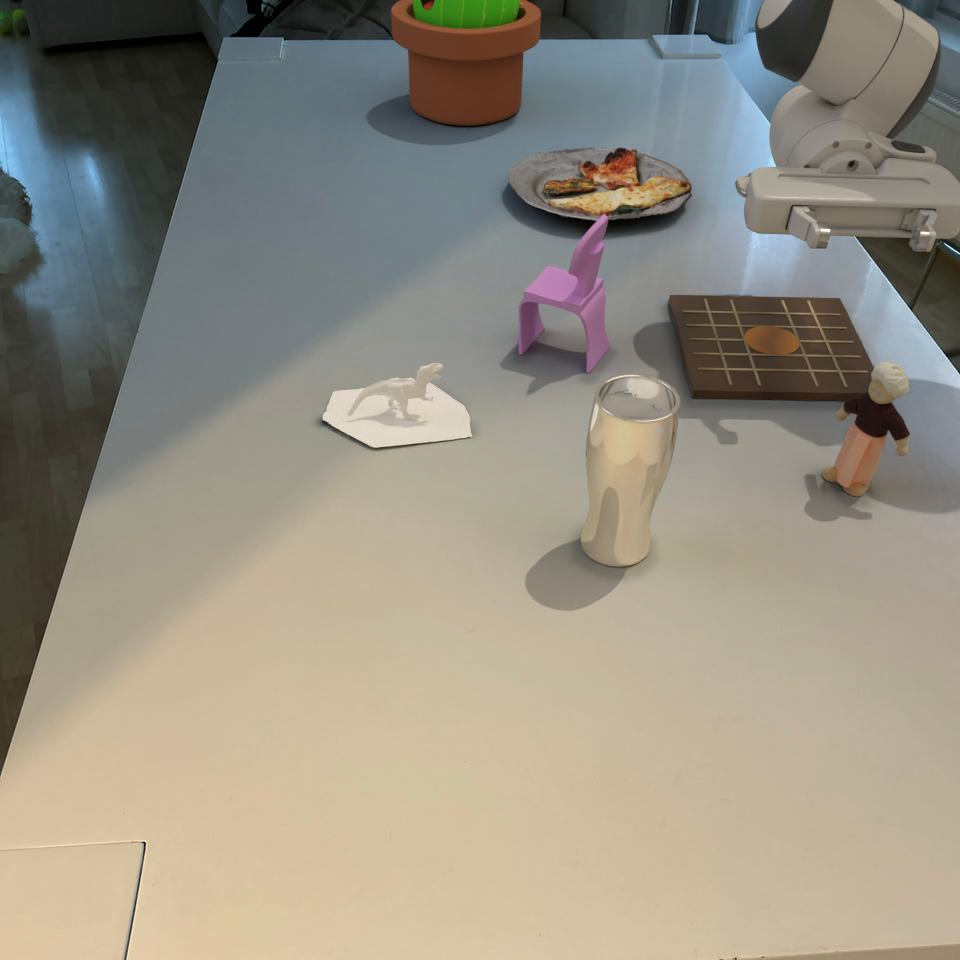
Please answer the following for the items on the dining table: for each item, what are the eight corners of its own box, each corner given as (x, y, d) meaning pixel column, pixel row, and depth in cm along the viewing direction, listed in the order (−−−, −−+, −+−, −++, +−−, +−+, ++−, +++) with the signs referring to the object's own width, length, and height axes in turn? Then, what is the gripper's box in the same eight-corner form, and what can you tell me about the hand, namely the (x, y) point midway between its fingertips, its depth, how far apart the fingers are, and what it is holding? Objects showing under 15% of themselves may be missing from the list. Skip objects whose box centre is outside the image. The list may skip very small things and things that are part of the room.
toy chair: (541, 323, 111) (550, 189, 100) (613, 341, 109) (630, 206, 98) (510, 357, 106) (516, 220, 95) (585, 378, 104) (600, 239, 93)
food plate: (645, 155, 145) (649, 129, 143) (719, 221, 130) (725, 194, 128) (486, 173, 140) (486, 147, 137) (544, 245, 125) (546, 218, 122)
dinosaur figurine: (319, 464, 97) (303, 413, 92) (341, 384, 104) (327, 333, 99) (469, 463, 95) (461, 411, 90) (481, 381, 102) (474, 328, 97)
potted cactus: (470, 74, 168) (472, -106, 150) (562, 110, 157) (576, -80, 139) (369, 103, 158) (357, -87, 139) (459, 144, 147) (460, -56, 128)
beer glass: (601, 508, 89) (621, 362, 78) (668, 538, 86) (699, 391, 75) (560, 549, 85) (574, 401, 74) (629, 582, 83) (655, 434, 72)
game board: (837, 305, 115) (840, 296, 115) (883, 401, 102) (887, 392, 101) (668, 302, 115) (669, 293, 114) (691, 398, 102) (693, 388, 101)
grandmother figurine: (804, 476, 93) (842, 356, 84) (824, 458, 95) (864, 340, 86) (878, 512, 89) (927, 392, 80) (897, 493, 91) (947, 374, 82)
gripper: (738, 141, 94) (765, 203, 85) (949, 147, 95) (999, 210, 85) (725, 207, 99) (749, 272, 90) (926, 213, 99) (971, 278, 90)
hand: (873, 242), depth 88 cm, fingers open, 8 cm apart
